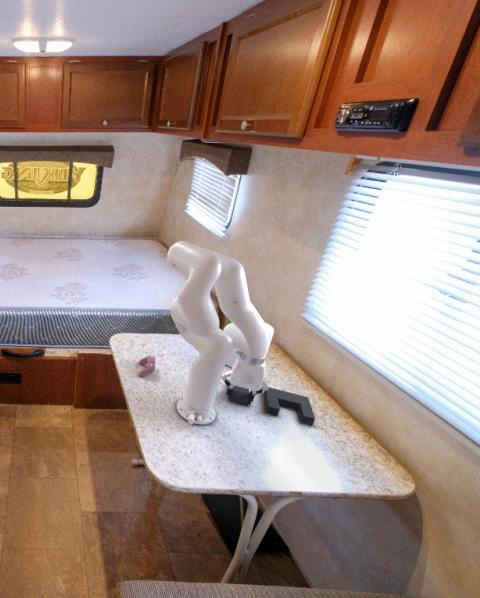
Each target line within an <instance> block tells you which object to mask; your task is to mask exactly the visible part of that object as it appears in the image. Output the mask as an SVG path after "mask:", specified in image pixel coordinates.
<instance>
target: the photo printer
mask: <svg viewBox="0 0 480 598" xmlns="http://www.w3.org/2000/svg"><path fill="white" fill-rule="evenodd" d="M237 350H239V349H237V348H236V347H233V351H232V353H231V355H230V357H229V358H228V360H227V362H226V364H225V366H228V367H230V368H232V366H233V364H234V362H235V360H236V358H237V356H238V354H236V351H237Z"/></svg>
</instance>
